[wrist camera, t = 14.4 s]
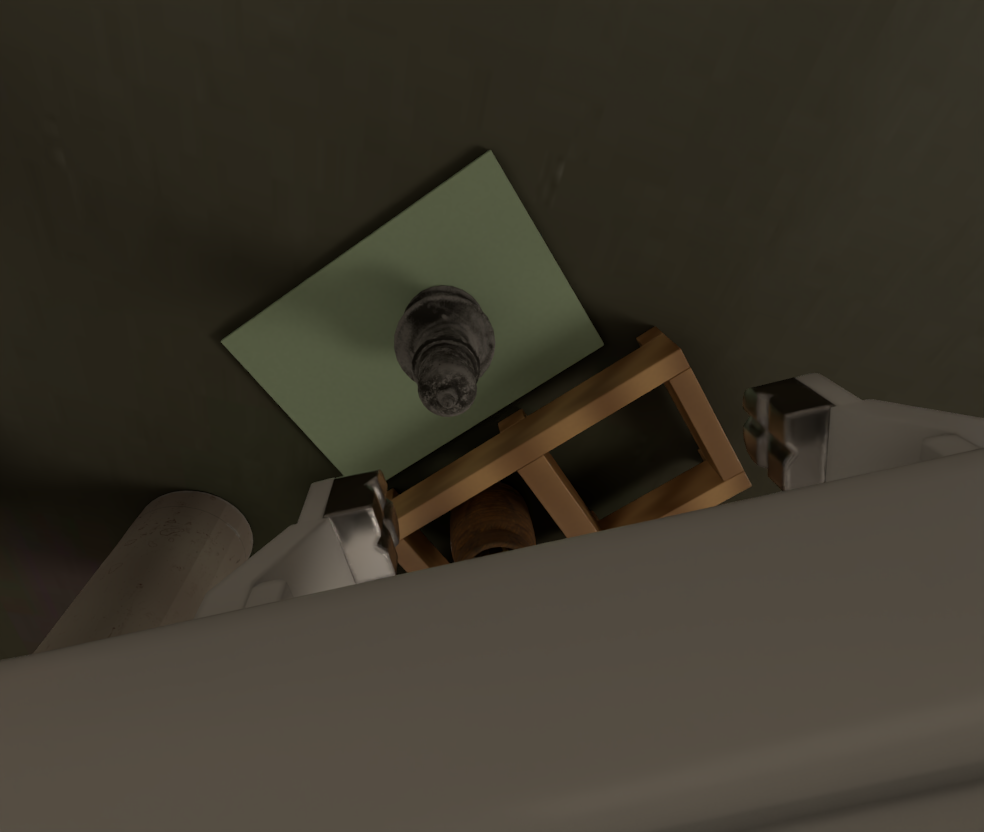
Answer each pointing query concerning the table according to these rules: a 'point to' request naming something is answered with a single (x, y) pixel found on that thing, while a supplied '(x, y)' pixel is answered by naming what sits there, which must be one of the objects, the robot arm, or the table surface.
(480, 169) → the mat
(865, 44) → the table surface
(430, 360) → the dark grey upright figure
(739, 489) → the rack
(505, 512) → the utensil holder
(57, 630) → the thermos bottle
